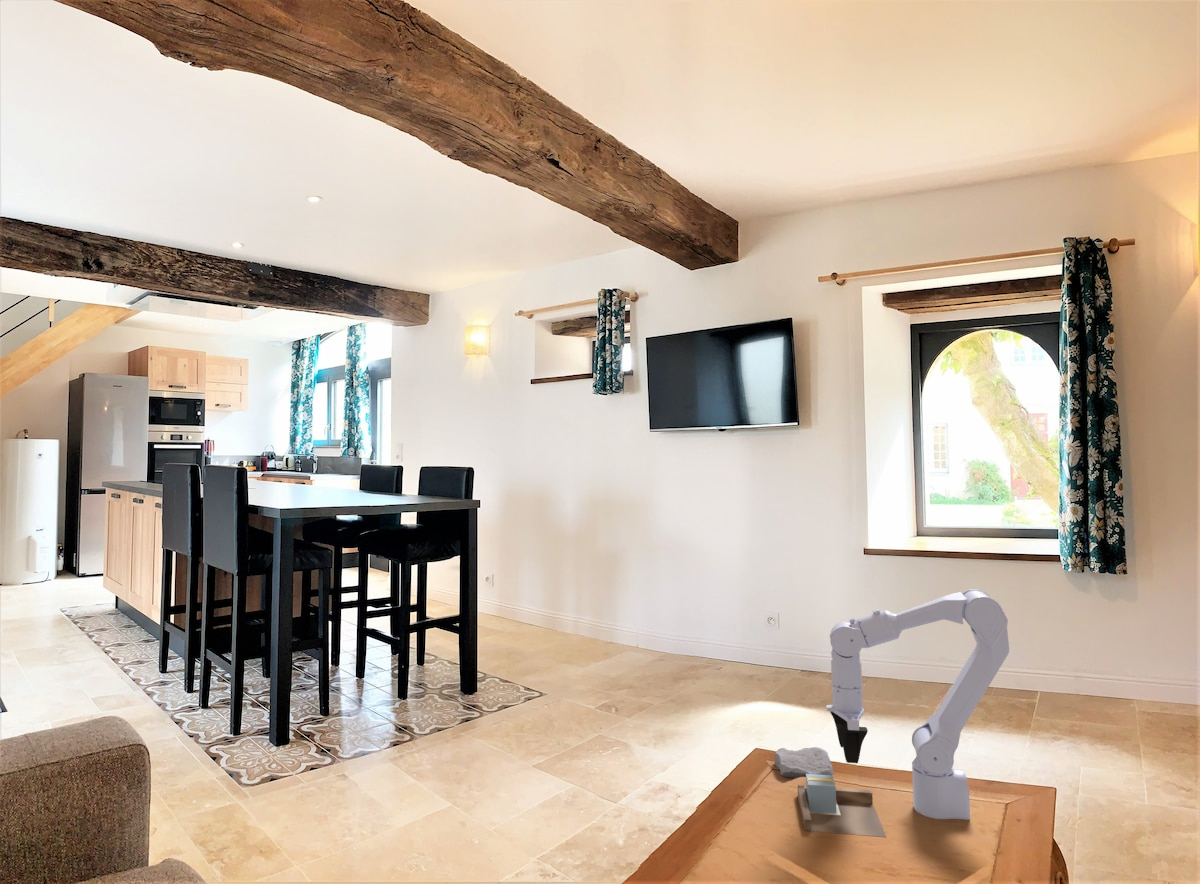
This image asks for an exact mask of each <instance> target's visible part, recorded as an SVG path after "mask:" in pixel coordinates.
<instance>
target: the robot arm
mask: <svg viewBox="0 0 1200 884" xmlns="http://www.w3.org/2000/svg"><path fill="white" fill-rule="evenodd" d="M872 613H873V614H869V615H866V616H863V617H860V618H857V619H855V618H854V617H851V618H849V622H846V621H842V622H837V623H836V624H835V625H834V626H833V627H832V628H831V630H830V634H829V639H830V646H831V647H832V648H831V649H832V650H831V658H832V659H831V660H830V666H831V667H830V669H831V670H830V673H831V700H832V704H826V706H825V709H826V711H827V712H829V713H830V714H831V716H832V719H833V721H834V724H835V727H836V728H835V729H836V732H837V738H838V741H839V742H838V743H839V746H840V748H842V749H843V753H844V757H845V758H844V759H845V761H846V763H847V764H848V763H849V764H858V763H859V760H860V755H861V750H862V745H863V742H864V740H865V737H866V736H867V734H868V728H867V727H866V726H860V720H861V719H862V717H863V715H864V714H865V709H864V705H863V703H864V702H863V701H864V700H863V678H862V673H863V672H862V671H863V670H862V662H861V659H860V656H861V655H860V652H861V651H862V649H868V648H872V647H875V646H879V645H881V644H886V643H888V642H892V641H895V640H898V639H899V638H900V635H901V633H902V631H905V630H909V629H912V628H916V627H920V626H924V625H928V624H931V623H935V622H938V621H945V620H946V621H950V622H953V623H956V624H960V625H964V620H965V622H966V623H967V624H968V625H969V628H970V630H971V633H972V635H973V637H974V640H975V642H976V646H975V647H974V649H973V651H972V652H971V654H970V655H969V657H968V659H967V660H966V662H965V664H964V665H963V667H962V669H961V671H960V672H959V674H958V675H957V677H956V678H955V680H954V682H953V684H952V685H951V687H950V689H949V690H948V692H947V693H946V695H945V697H944V699H943V700H942V702H941V703H940V705H939V707H938V709H937V710H936V712H935V713H934V714H932V715H930V716H929V717H928V718H927V720H926V722H925V723H923V724H922V725H920V726H918V727H916V728H915V729H914V731H913V732H912V735H911V742H912V743H911V744H912V746H913V749H914V750H915V751H914V752H915V754H916V756H915V758H914V759H913V760H912V762H911V764H912V765H911V766H912V767H911V769H912V771H911V772H912V773H911V774H912V798H913V799H912V800H913V802H912V803H913V809H914V810H915V811H916V812H917V813H918V814H920V815H922V816H924V817H926V818H927V817H928V818H929V819H930V818H931V819H935V820H936V819H937V820H950V819H953V820H954V819H955V820H965V821H966V820H971V807H970V806H971V805H970V804H971V803H970V788H969V787H970V786H969V782H968V778H967V776H966V772H965V771H964V770H962V769H958V768H954V762H955V760H954V757H955V752H956V751H957V749H958V747H959V743H960V738H961V732H962V731H963V729H964V727H965V726H966V724H967V723H968V721H969V719H970V718H971V715H972V714H973V712H974V711H975V709H976V708H977V706H978V704H979V703H980V701H981V700H982V698H983V696H984V694H985V693H986V691H987V690H988V688H989V687H990V685H991V683H992V682H993V680H994V678H995V677H996V675H997V674H998V672H999V670H1000V669H1001V667H1002V665H1003V663H1004V662H1005V660H1006V659H1007V657H1008V655H1009V653H1010V645H1009V644H1010V643H1009V634H1008V622H1009V620H1008V618H1007V616H1006V613H1005V612H1004V610H1003V608H1002V606H1001V605H1000V604H999V602H998V601H996V600H995V599H993V598H991V597H990V595H989V594H988V593H987V592H985V591H983V590H980V589H978V588H977V589H976V588H971V589H967V590H965V591H963V592H961V591H959V592H954V593H950V594H947V595H944V596H941V597H939V598H935V599H934V600H931V601H928V602H927V601H926V602H925V603H922V604H919V605H917V606H914V607H911V608H909V609H905V610H903V611H899V612H898V613H893V612H891V611H889V610H887V609H886V610H882V611H880V609H879V608H877V609H874V610H872ZM963 619H964V620H963Z"/></svg>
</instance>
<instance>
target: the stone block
mask: <svg viewBox="0 0 1200 884" xmlns="http://www.w3.org/2000/svg"><path fill="white" fill-rule="evenodd" d="M774 765H775V766H776V768H777V769H778V770H779V772H780V776H781V777H785V778H792V779H793V778H794V779H798V778H801V777H804V776H806V774H818V775H832V776H833V775H834V774H835V773H834V769H833V765H832V762H831V759H830V756H829V752H828V751H827V750H825V749H823V748H821V747H815V746H814V747H804V748H801V749H799V750H798V749H797V750H793V749H792V750H791V749H790V750H789V749H788V748H787V749H786V748H784V747H781V748H779V749H777V750H776V751H775V753H774Z"/></svg>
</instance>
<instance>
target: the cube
mask: <svg viewBox="0 0 1200 884" xmlns="http://www.w3.org/2000/svg"><path fill="white" fill-rule="evenodd" d="M805 786H806V798H807V802H808V807H809V811H810V812H823V813H836V788H837V786H836V783H835V780H834V776H833V775H818V774H806V775H805Z"/></svg>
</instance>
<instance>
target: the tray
mask: <svg viewBox="0 0 1200 884" xmlns="http://www.w3.org/2000/svg"><path fill="white" fill-rule="evenodd" d="M797 799H798V803H799V808H800V814H801V817H802V825H803V829H804V832H812V833H815V832H816V833H824V834H825V833H828V834H837V835H838V834H841V835H853V836H855V835H856V836H866V837H879V838H887V834H886V832H885V830H884V828H883V825H882V823H881V820H880V818H879V815H878V813H877V811H876V808H875V805H874V804H873V802H874V801H873V791H872V790H871V789H858V788H857V789H856V788H842V787H841V788H840V787H836V813H823V812H810V811H809V807H808V802H807V798H806V785H797Z"/></svg>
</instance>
